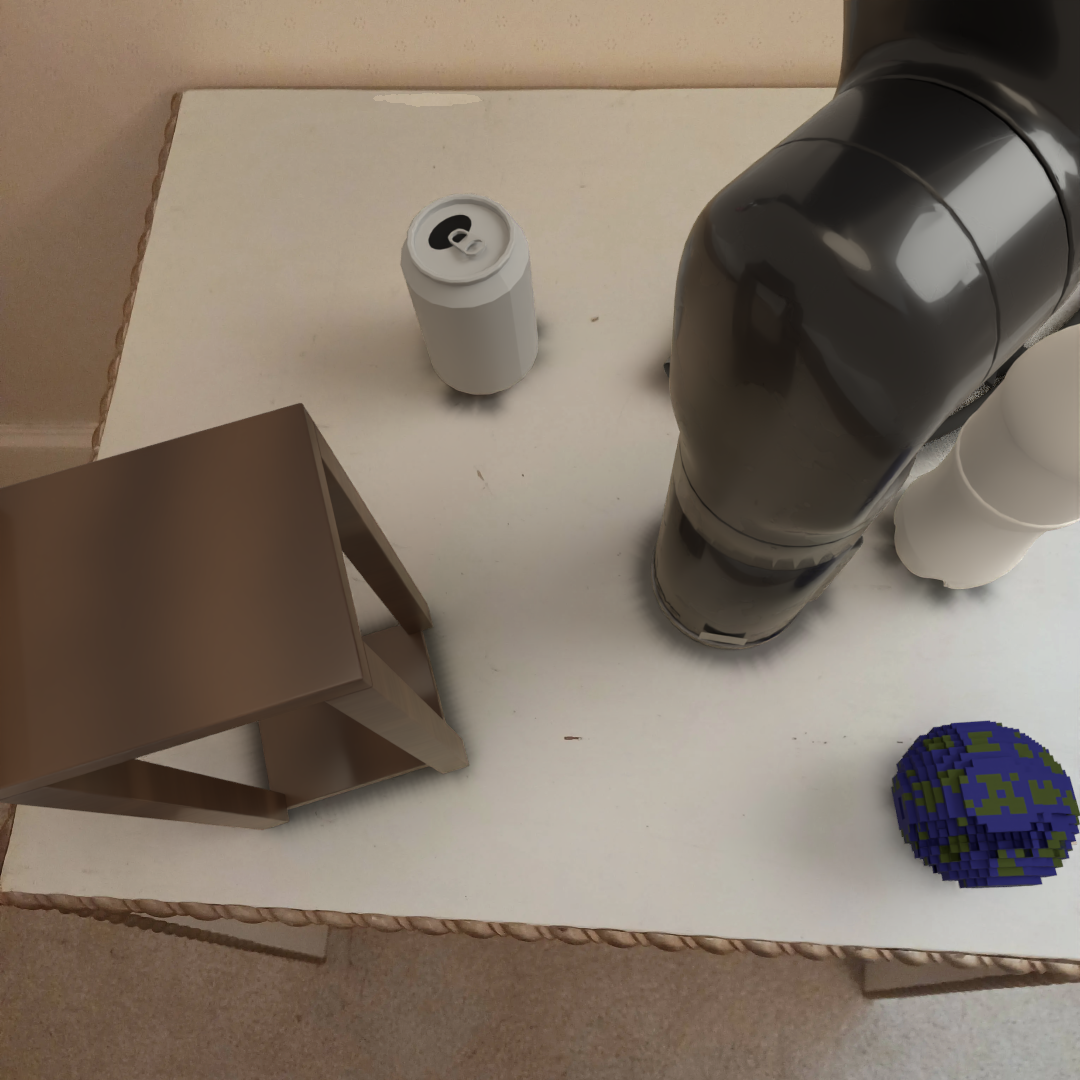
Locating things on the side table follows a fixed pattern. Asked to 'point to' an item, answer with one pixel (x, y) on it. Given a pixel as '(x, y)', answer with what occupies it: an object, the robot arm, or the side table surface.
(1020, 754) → the ball
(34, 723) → the top shelf
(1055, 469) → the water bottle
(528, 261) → the can
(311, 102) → the side table surface
